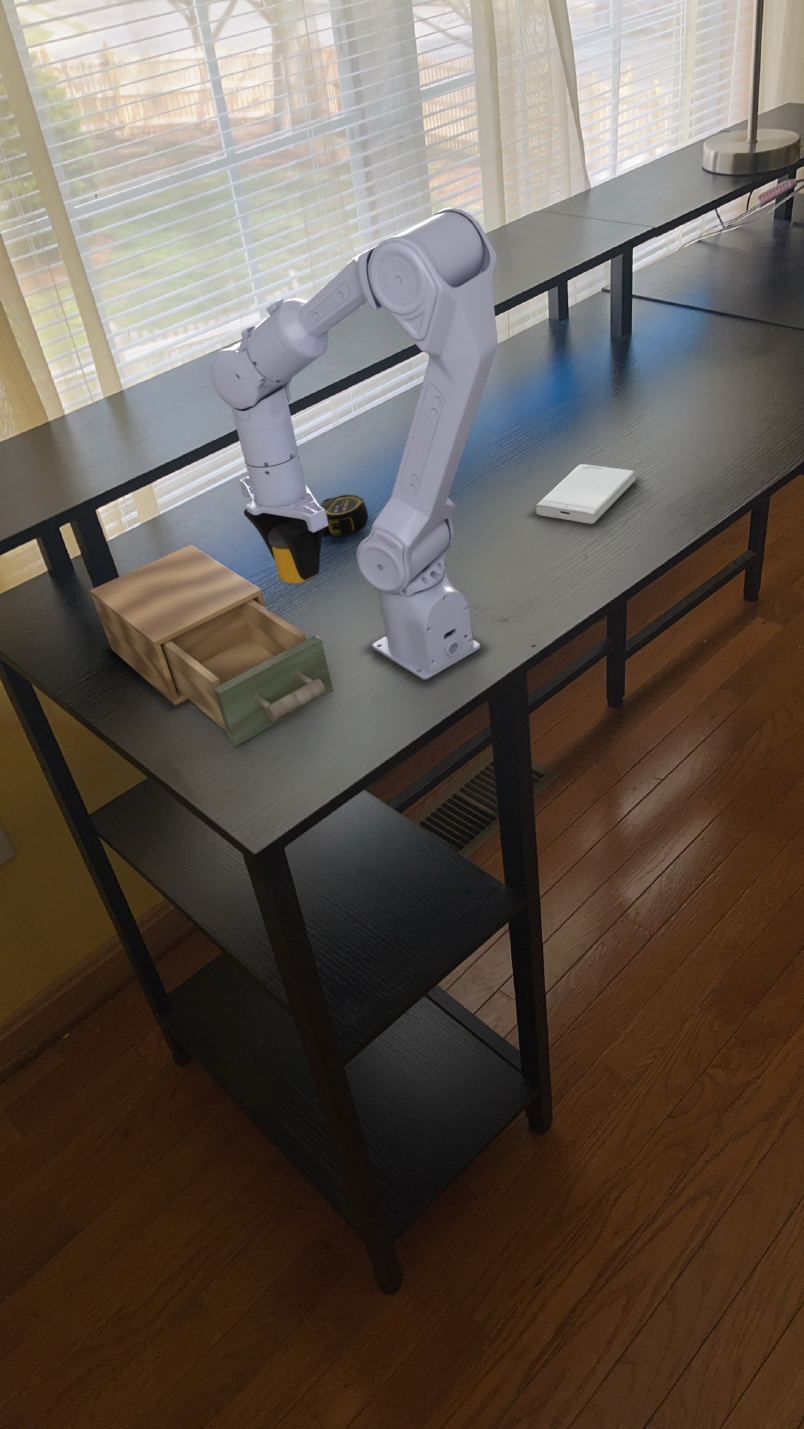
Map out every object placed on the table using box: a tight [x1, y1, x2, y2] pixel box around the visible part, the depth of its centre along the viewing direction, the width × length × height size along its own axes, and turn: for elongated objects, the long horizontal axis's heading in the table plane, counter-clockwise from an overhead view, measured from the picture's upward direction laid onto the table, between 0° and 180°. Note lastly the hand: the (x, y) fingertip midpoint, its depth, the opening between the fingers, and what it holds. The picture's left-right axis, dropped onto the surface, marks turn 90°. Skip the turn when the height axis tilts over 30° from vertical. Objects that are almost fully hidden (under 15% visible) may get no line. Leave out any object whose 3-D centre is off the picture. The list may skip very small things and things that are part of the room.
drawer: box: [160, 599, 334, 747], centre depth 106 cm, size 20×12×7 cm, turn 39°
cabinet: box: [89, 544, 267, 706], centre depth 116 cm, size 16×13×8 cm
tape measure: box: [319, 494, 369, 538], centre depth 136 cm, size 7×7×4 cm
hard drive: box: [535, 463, 636, 525], centre depth 134 cm, size 2×8×12 cm
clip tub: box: [268, 524, 315, 584], centre depth 116 cm, size 5×5×5 cm
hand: (297, 568), depth 117 cm, fingers closed on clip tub, 5 cm apart
